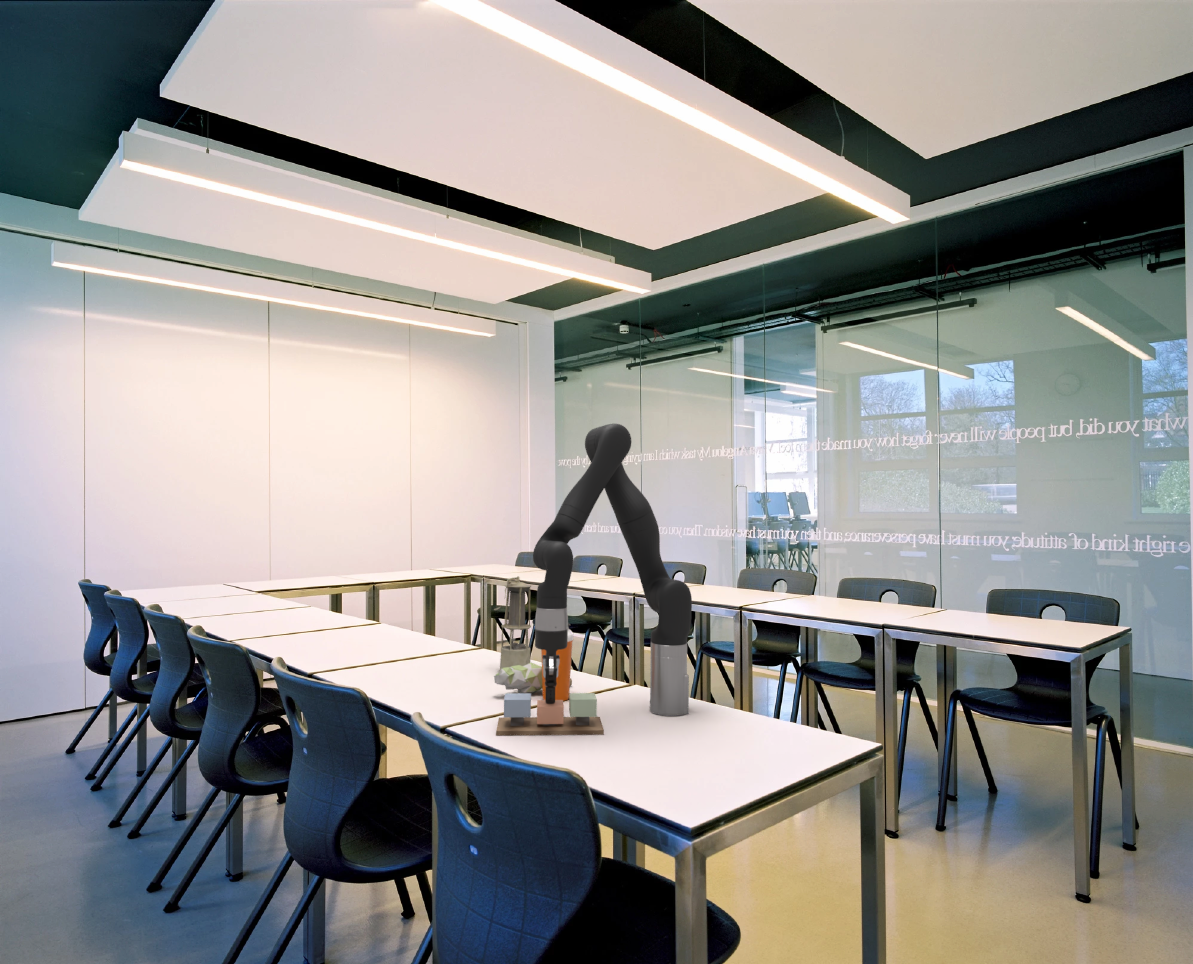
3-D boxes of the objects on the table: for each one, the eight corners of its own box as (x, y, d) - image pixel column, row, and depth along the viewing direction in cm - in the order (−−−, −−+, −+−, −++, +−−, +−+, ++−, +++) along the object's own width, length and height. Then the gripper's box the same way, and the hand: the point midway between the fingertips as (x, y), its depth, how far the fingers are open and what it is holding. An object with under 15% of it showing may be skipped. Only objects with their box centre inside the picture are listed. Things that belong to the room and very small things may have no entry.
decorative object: (556, 680, 214) (483, 673, 200) (574, 660, 211) (501, 650, 196) (565, 706, 208) (491, 700, 193) (584, 685, 204) (509, 677, 190)
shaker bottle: (567, 703, 191) (569, 626, 192) (535, 701, 192) (536, 624, 193) (575, 695, 199) (576, 621, 200) (544, 693, 201) (545, 620, 202)
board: (599, 721, 175) (599, 708, 175) (603, 734, 164) (604, 721, 164) (498, 721, 173) (499, 708, 173) (496, 735, 162) (496, 721, 162)
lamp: (538, 673, 226) (540, 576, 228) (504, 679, 217) (506, 578, 219) (517, 668, 234) (519, 574, 235) (484, 674, 225) (486, 576, 226)
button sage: (594, 709, 172) (594, 693, 172) (596, 716, 166) (596, 699, 166) (569, 710, 172) (569, 693, 172) (570, 716, 166) (570, 699, 166)
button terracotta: (562, 716, 172) (562, 699, 172) (563, 723, 166) (563, 706, 166) (537, 716, 171) (537, 700, 171) (536, 724, 165) (537, 706, 165)
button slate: (530, 710, 171) (531, 693, 171) (530, 717, 165) (530, 699, 165) (504, 710, 171) (505, 693, 171) (503, 717, 165) (504, 699, 165)
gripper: (568, 631, 163) (567, 710, 162) (566, 623, 176) (565, 695, 175) (535, 631, 163) (533, 710, 162) (535, 623, 176) (534, 695, 175)
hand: (550, 702), depth 169 cm, fingers closed
